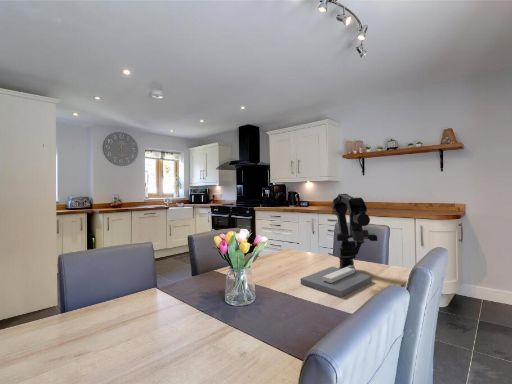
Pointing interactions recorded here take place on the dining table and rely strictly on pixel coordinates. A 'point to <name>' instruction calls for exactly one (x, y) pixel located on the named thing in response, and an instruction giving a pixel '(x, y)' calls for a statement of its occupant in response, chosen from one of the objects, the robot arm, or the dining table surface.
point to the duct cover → (339, 274)
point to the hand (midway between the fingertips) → (356, 254)
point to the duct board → (338, 287)
